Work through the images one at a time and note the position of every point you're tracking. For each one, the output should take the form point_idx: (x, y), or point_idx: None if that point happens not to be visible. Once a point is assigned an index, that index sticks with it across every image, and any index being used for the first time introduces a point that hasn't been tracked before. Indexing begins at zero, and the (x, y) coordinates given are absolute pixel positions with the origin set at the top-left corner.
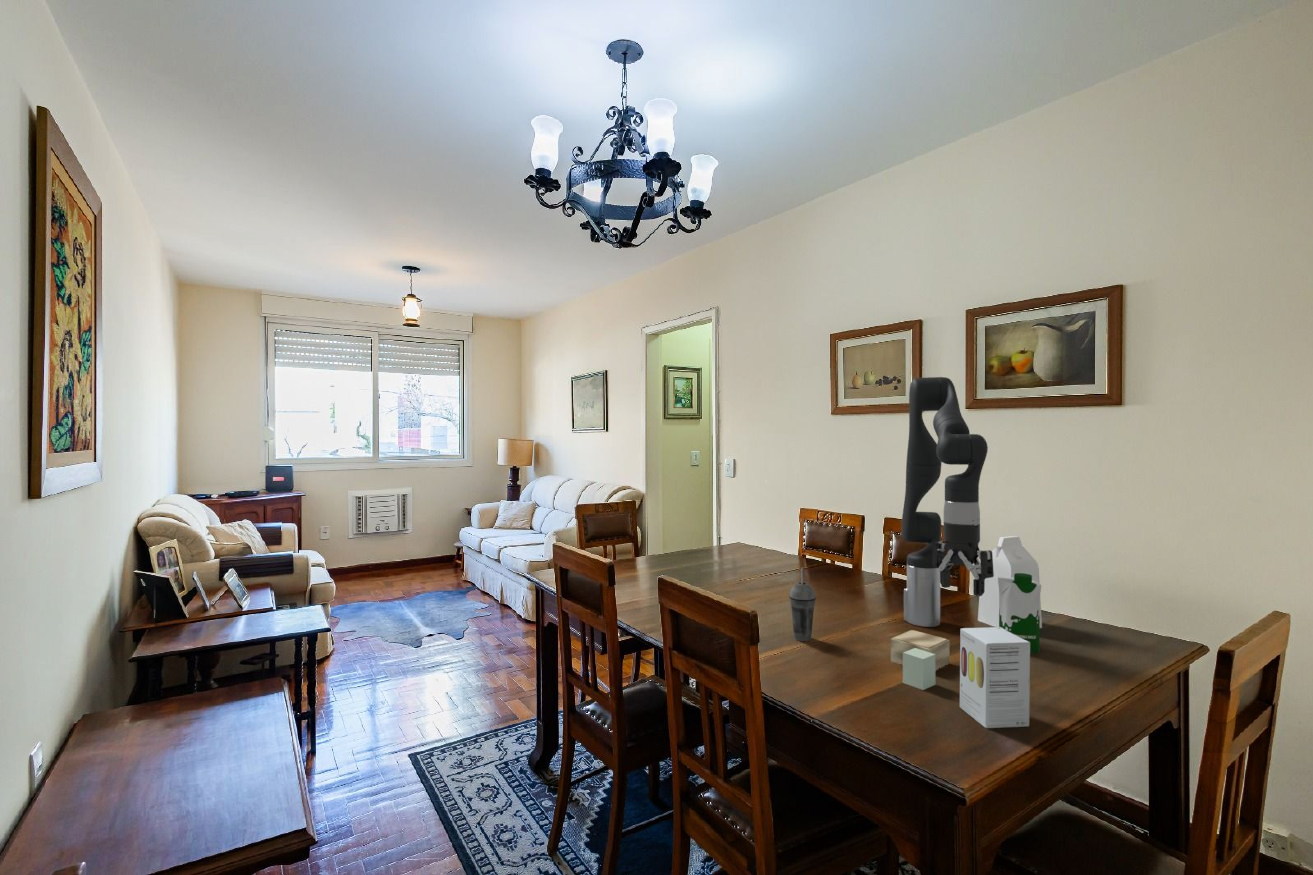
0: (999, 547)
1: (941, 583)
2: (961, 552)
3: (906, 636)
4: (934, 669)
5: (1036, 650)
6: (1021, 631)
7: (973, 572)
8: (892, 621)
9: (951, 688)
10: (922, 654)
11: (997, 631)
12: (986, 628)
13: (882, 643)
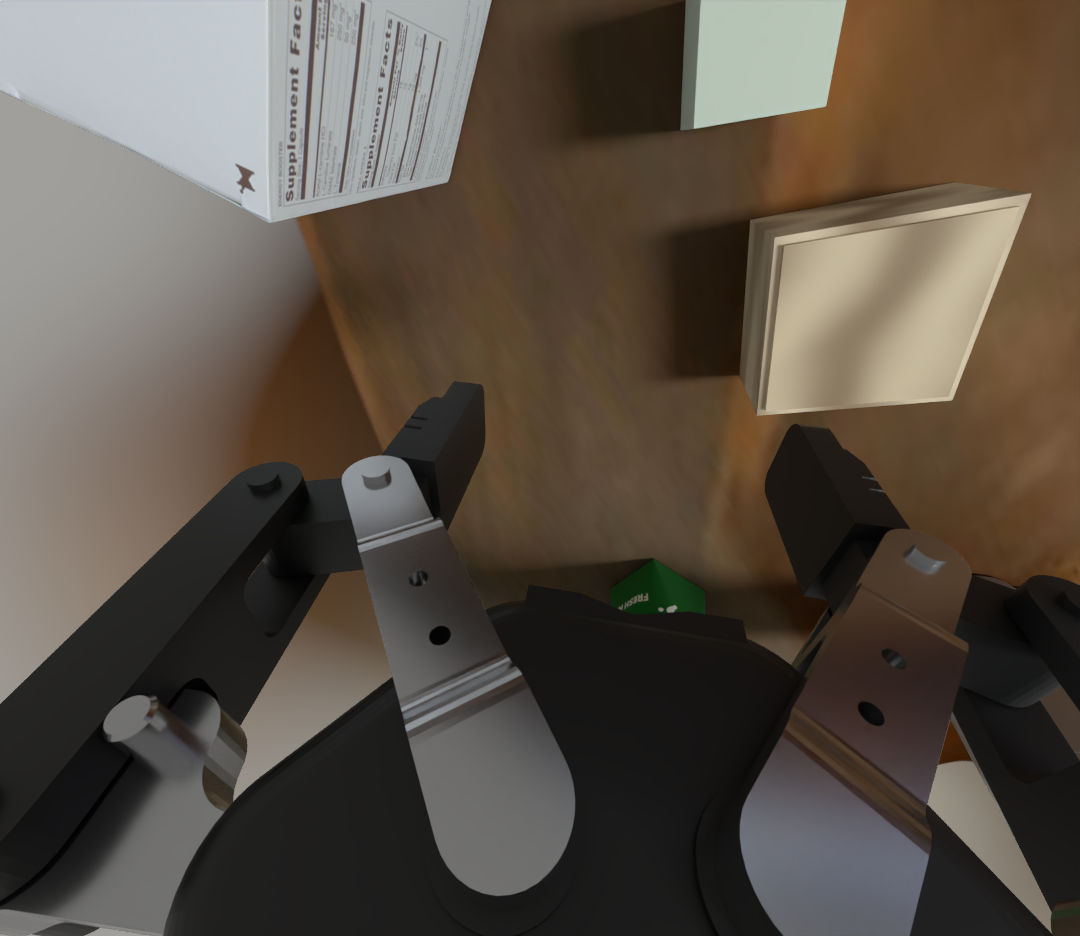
0: None
1: (835, 439)
2: (456, 849)
3: (946, 293)
4: (686, 119)
5: (613, 591)
6: (632, 612)
7: (394, 511)
8: (1072, 562)
9: (620, 161)
10: (744, 40)
11: (168, 78)
12: (241, 71)
13: (1059, 348)
